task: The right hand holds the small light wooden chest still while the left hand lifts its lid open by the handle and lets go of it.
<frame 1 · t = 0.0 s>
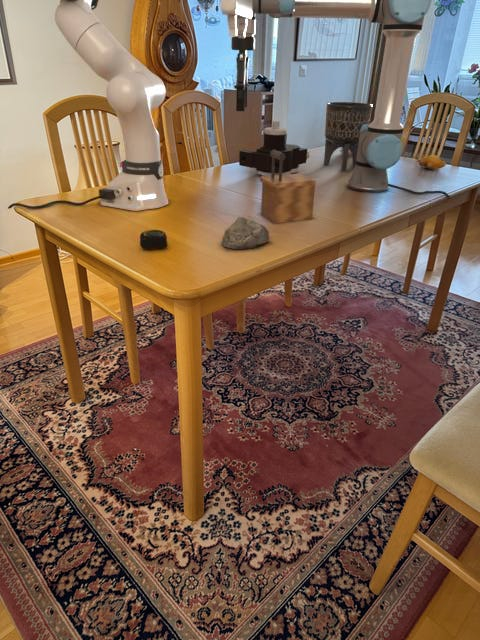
left hand: (237, 37, 123), 48 cm above the table, tool pointing down, fingers open, 8 cm apart
right hand: (241, 109, 155), 28 cm above the table, tool pointing down, fingers open, 13 cm apart
figurine: (348, 154, 239), on the table
tape measure: (155, 248, 118), on the table
rock: (247, 244, 122), on the table
planter: (341, 167, 211), on the table
toy: (429, 168, 212), on the table
chest: (286, 216, 144), on the table
mechanical component: (280, 173, 196), on the table
lid: (288, 166, 136), point 15 cm above the table, hinge at 0.0°
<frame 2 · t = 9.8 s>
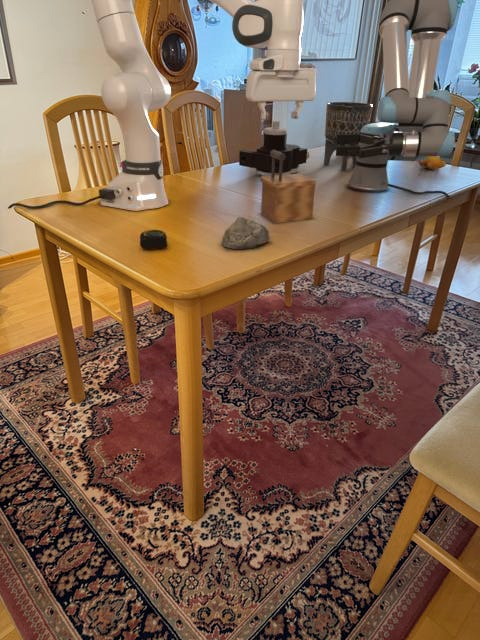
left hand: (279, 119, 128), 29 cm above the table, tool pointing down, fingers open, 8 cm apart
right hand: (336, 144, 153), 18 cm above the table, tool horizontal, fingers open, 13 cm apart
nothing on the table moved.
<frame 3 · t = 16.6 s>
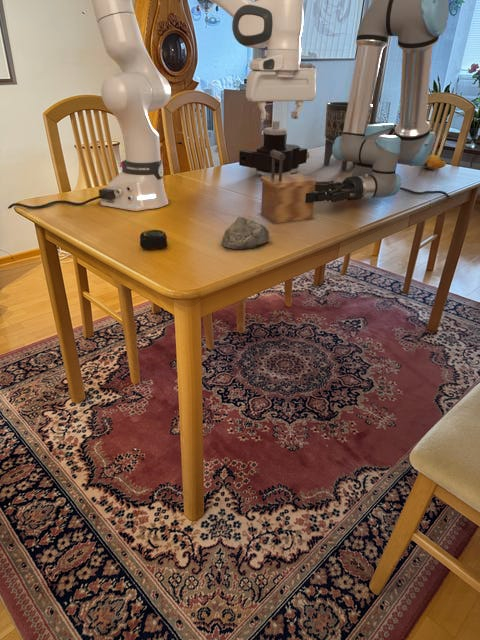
left hand: (279, 119, 128), 29 cm above the table, tool pointing down, fingers open, 8 cm apart
right hand: (297, 193, 141), 7 cm above the table, tool horizontal, fingers closed on chest, 10 cm apart
chest: (286, 216, 144), on the table, touching right hand
everything else where it was.
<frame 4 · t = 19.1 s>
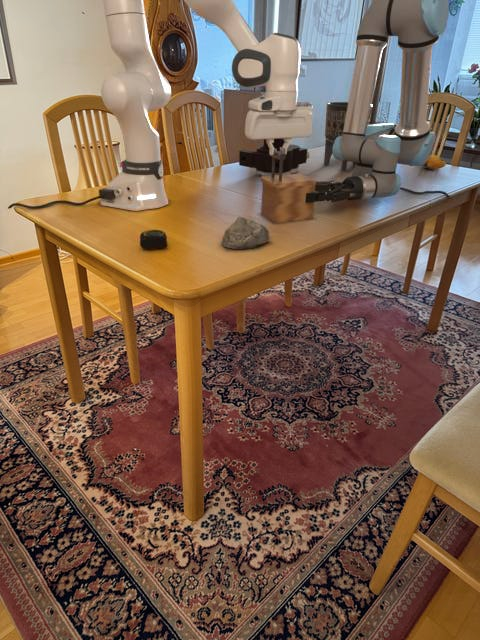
left hand: (277, 154, 133), 19 cm above the table, tool pointing down, fingers closed on lid, 2 cm apart
right hand: (298, 193, 141), 7 cm above the table, tool horizontal, fingers closed on chest, 10 cm apart
chest: (286, 216, 144), on the table, touching right hand
lid: (288, 166, 136), point 15 cm above the table, hinge at 0.0°, touching left hand
everything else where it was.
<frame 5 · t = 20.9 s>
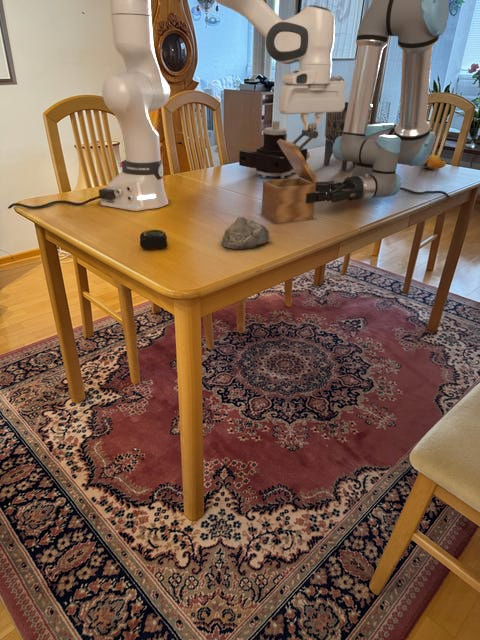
left hand: (310, 130, 133), 25 cm above the table, tool pointing down, fingers closed, pressing on lid
right hand: (298, 193, 141), 7 cm above the table, tool horizontal, fingers closed on chest, 10 cm apart
chest: (286, 216, 144), on the table, touching right hand
lid: (307, 152, 136), point 19 cm above the table, hinge at 51.3°, touching left hand
everything else where it was.
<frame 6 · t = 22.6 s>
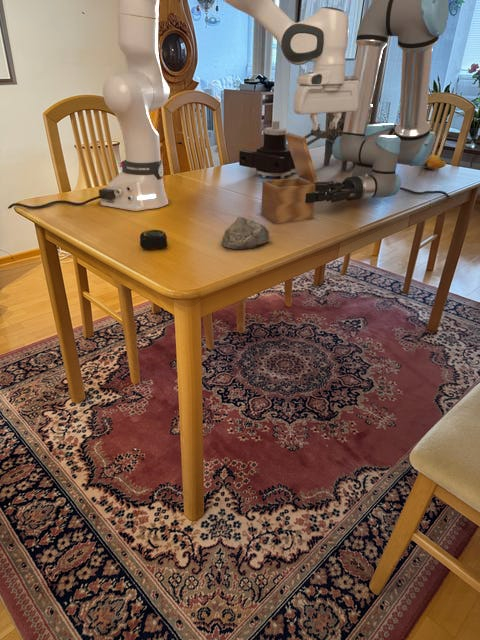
left hand: (324, 129, 135), 25 cm above the table, tool pointing down, fingers open, 4 cm apart
right hand: (297, 193, 141), 7 cm above the table, tool horizontal, fingers closed on chest, 10 cm apart
chest: (286, 216, 143), on the table, touching right hand
lid: (312, 151, 136), point 19 cm above the table, hinge at 65.5°, touching left hand
everything else where it was.
when the right hand's fingers open (7 cm above the table, at t = 26.4 s): chest stays where it is, on the table.
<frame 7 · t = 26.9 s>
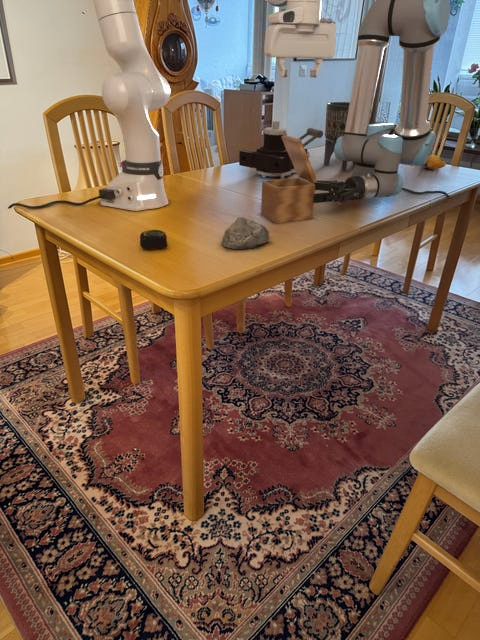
left hand: (298, 77, 124), 39 cm above the table, tool pointing down, fingers open, 8 cm apart
right hand: (303, 192, 142), 7 cm above the table, tool horizontal, fingers open, 13 cm apart
chest: (286, 216, 144), on the table
lid: (309, 151, 136), point 19 cm above the table, hinge at 60.0°
everything else where it was.
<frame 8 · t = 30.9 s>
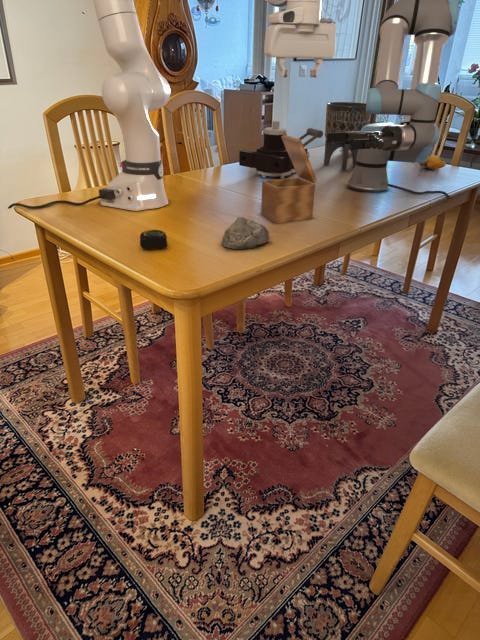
left hand: (298, 77, 124), 39 cm above the table, tool pointing down, fingers open, 8 cm apart
right hand: (339, 140, 138), 22 cm above the table, tool horizontal, fingers open, 13 cm apart
nothing on the table moved.
at the end: lid at +60° (first picture: +0°); the left hand is holding nothing; the right hand is holding nothing; chest tilted 0°; chest never tilted more than 1° during the clip; chest moved 0.0 cm from its start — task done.
